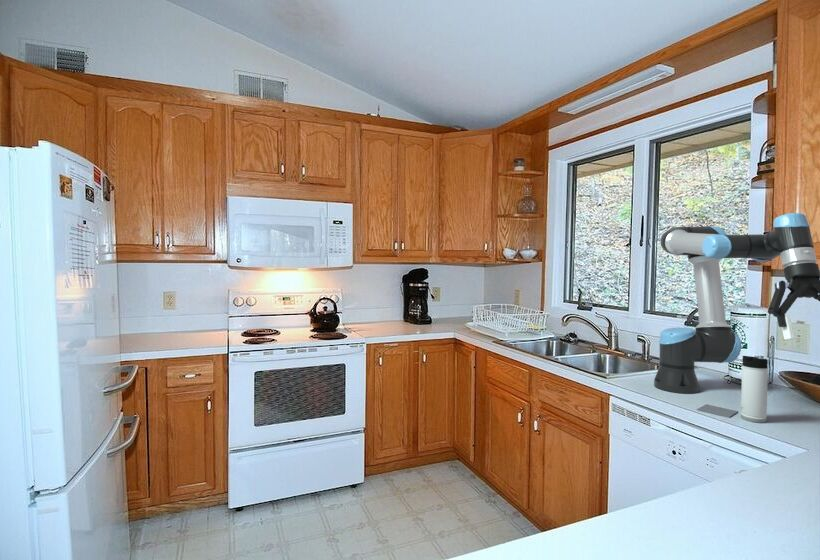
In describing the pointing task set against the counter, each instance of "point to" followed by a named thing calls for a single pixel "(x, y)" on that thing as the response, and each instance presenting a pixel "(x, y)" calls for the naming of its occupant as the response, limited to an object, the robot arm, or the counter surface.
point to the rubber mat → (717, 410)
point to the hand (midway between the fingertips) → (816, 339)
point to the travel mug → (754, 389)
